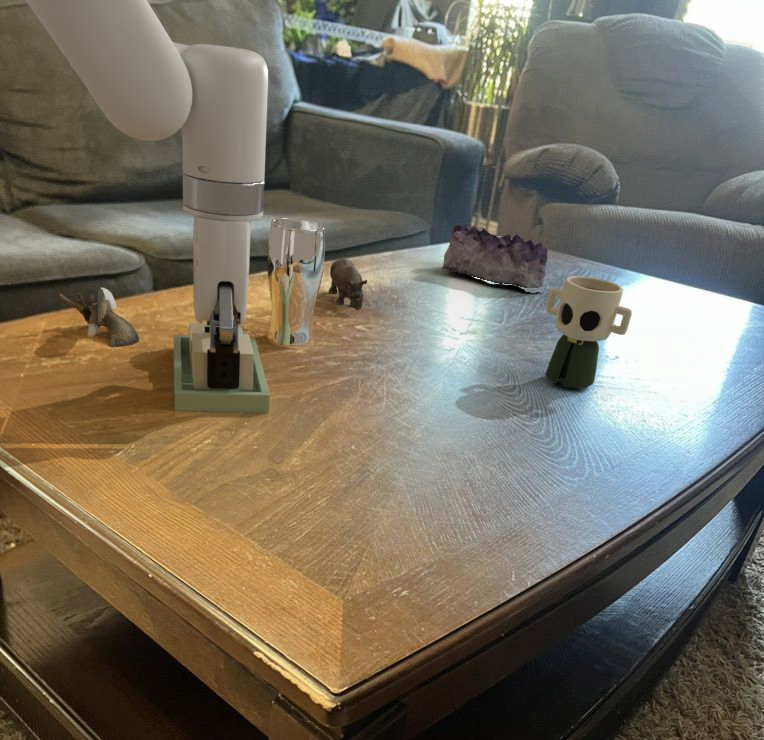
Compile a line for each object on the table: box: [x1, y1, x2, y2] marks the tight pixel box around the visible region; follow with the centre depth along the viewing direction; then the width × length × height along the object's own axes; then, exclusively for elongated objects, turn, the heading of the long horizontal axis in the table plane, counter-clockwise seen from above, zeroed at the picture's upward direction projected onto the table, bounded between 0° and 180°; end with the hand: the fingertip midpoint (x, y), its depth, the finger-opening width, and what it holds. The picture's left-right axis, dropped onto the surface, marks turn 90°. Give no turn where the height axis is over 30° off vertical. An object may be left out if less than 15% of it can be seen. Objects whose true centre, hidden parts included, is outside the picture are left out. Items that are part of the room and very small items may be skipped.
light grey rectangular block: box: [192, 332, 254, 390], centre depth 82 cm, size 6×6×4 cm
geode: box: [442, 223, 549, 288], centre depth 141 cm, size 20×12×10 cm, turn 62°
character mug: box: [545, 275, 632, 389], centre depth 98 cm, size 11×7×13 cm, turn 55°
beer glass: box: [266, 217, 326, 350], centre depth 98 cm, size 7×7×15 cm
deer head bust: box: [58, 287, 140, 348], centre depth 94 cm, size 8×7×9 cm
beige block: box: [188, 322, 244, 374], centre depth 90 cm, size 6×6×4 cm
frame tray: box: [173, 334, 271, 414], centre depth 87 cm, size 17×10×2 cm, turn 13°
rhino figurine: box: [328, 256, 368, 311], centre depth 118 cm, size 4×14×6 cm, turn 16°
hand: (221, 373), depth 83 cm, fingers closed on light grey rectangular block, 6 cm apart
